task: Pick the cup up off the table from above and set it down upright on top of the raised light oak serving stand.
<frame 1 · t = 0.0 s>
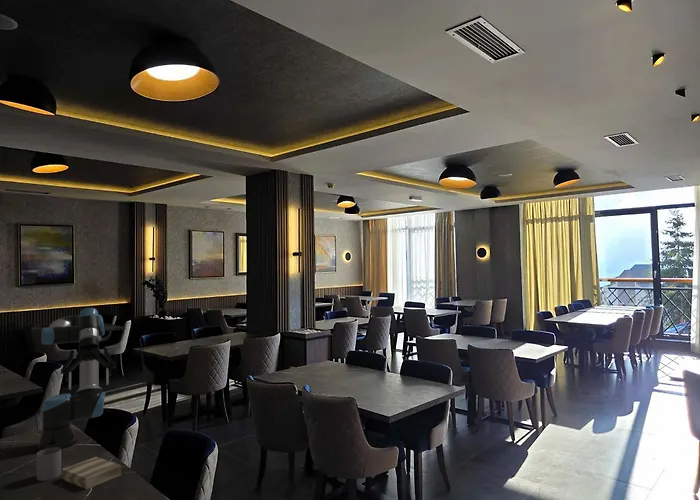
hand: (89, 386, 190), 36 cm above the table, tool tilted 35°, fingers open, 13 cm apart
oak stand: (91, 477, 186), on the table
cup: (48, 476, 188), on the table
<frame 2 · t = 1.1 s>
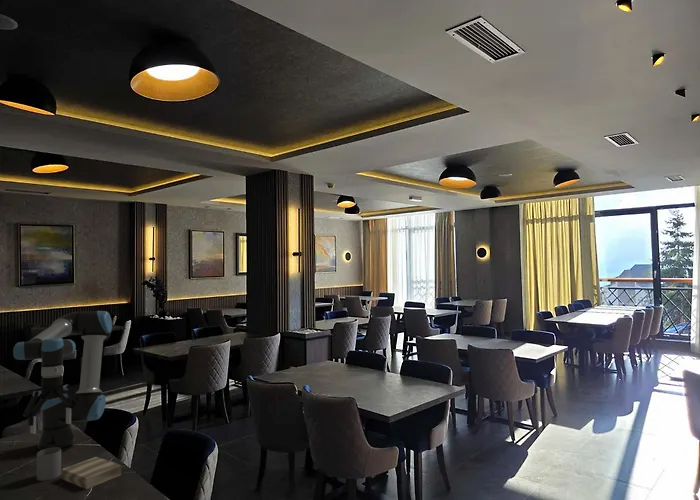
hand: (51, 428, 189), 19 cm above the table, tool pointing down, fingers open, 13 cm apart
nothing on the table moved.
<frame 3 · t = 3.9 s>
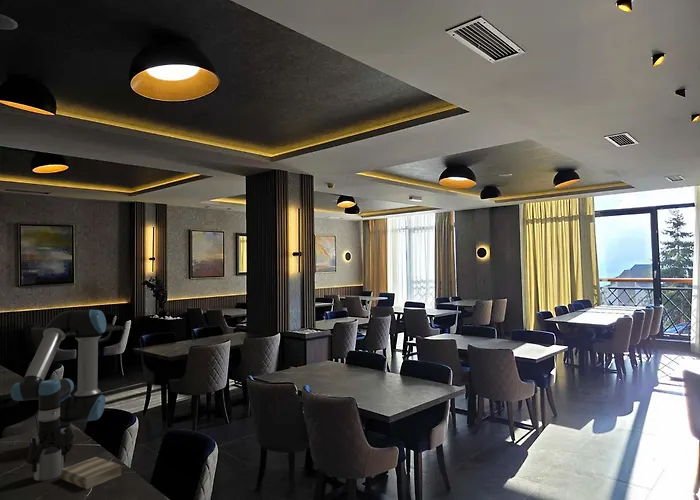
hand: (48, 475, 188), 0 cm above the table, tool pointing down, fingers closed on cup, 8 cm apart
cup: (48, 476, 188), on the table, touching gripper
when the fingers open (6 cm above the table, at t = 10.0 s): cup drops 1 cm, resting on oak stand.
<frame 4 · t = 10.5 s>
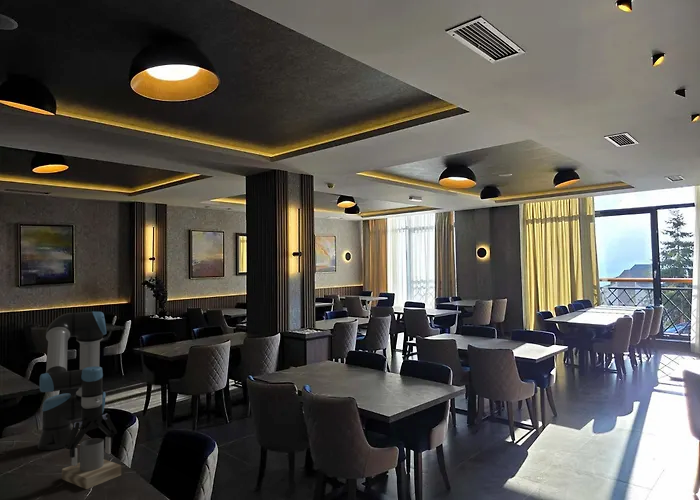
hand: (91, 459, 187), 7 cm above the table, tool pointing down, fingers open, 13 cm apart
cup: (91, 467, 186), point 4 cm above the table, touching oak stand
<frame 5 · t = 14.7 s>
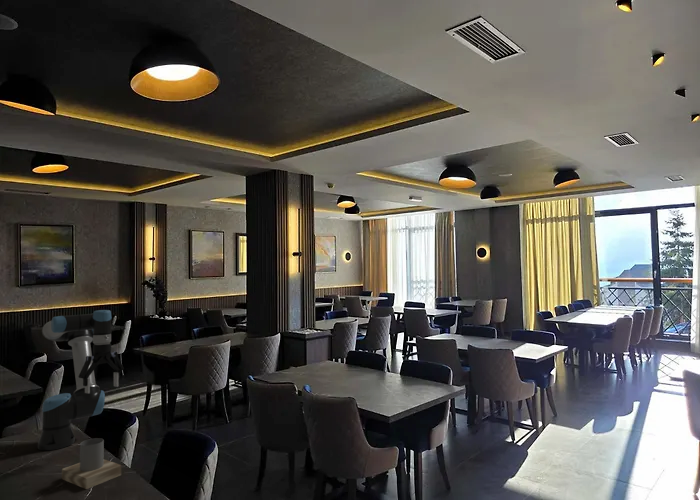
hand: (102, 389, 213), 29 cm above the table, tool pointing down, fingers open, 13 cm apart
nothing on the table moved.
at the end: cup inside the target area on the oak stand (0.1 cm from its centre), point 3.8 cm above the oak stand's base; cup tilted 0°; the gripper is holding nothing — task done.
